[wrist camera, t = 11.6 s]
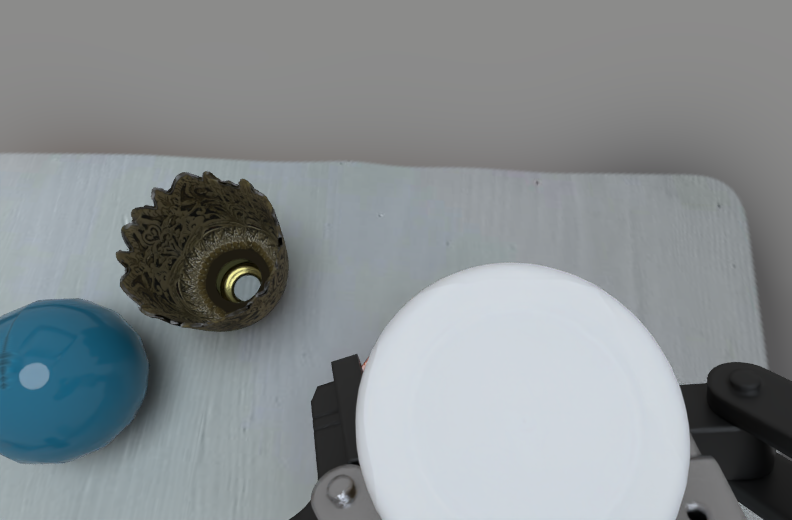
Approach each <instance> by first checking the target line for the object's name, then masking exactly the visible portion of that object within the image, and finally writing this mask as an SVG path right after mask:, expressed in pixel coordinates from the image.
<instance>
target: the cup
mask: <svg viewBox="0 0 792 520" xmlns="http://www.w3.org/2000/svg"><path fill="white" fill-rule="evenodd" d="M238 184H239V185H237V184H234V183H233V182H231V181H229V180H228V181H221V180H220V179H219V178H216V177H215V176H214V175H213V174H212V173H211V172H207V171H206V172H204V173H203V175H202V177H199V176H197V175H193V174H190V173H187V172H182V173H180V174H179V175H177V176H176V178H175V179H174V181H173V183H172V186H171V188H170V189H169V190H168V191H166V190H164V189H162V188H156V187H155V188H153V189H152V192H151V193H152V195H151V198H152V199H153V202H154V207H153V206H149V205H145V206H144V207H138V208H135V209H133V210H132V212H131V216H132V219H133V220H132V223H129V224H127V225H125V226H123V227H122V229H121V233H122V237H123V240H124V242H125V244H126V245H127V247H128V248H129V251H121V250H119V251H118V252H116V258H117V260H118V261H119V262H120V263H121V264H122V265H123V266H124V267H125V274H124V275H122V277H121V279H120V287H121V288H122V290H123V291H124V292H125V293H126V294H127V296H129V297H130V298H131V299H132V300H133V301H135V302H136V303H137V304H138V305H139V306H140V307H138V308H139V310H140V311H141V312H142V313H143V314H145V315H147V316H149V317H152V318H158V319H161V320H163V321H165V322H168V323H170V324H173V325H177V326H181V327H183V328H192V329H199V330H205V331H219V332H221V331H232V330H238V329H241V328H244V327H247V326H250V325H252V324H254V323H256V322H258V321H259V320H261V319H262V318H264V317H265V316H266V315H267V314H268V313H269V312H270V311H271V310H272V309H273V308H274V307H275V306H276V304H277V303H278V301H279V300H280V298H281V296H282V294H283V292H284V290H285V287H286V283H287V279H288V271H289V264H288V255H287V250H286V246H285V242H284V238H283V235H282V232H281V229H280V225H279V222H278V220H277V217H276V214H275V211H274V209H273V207H272V205H271V203H270V202H269V200H268V199H267V197H266V196H265V195H264V194H262V193H261V192H259V191H258V190H256V189H254V187H253V186H252V184H251V183H249V182H248V181H247V180H245V179H240V182H239V183H238ZM127 250H128V249H127ZM243 275H253V276H255V277H257V278H258V279H259V281H260V284H261V286H260V288H259V290H258V292H257V293H256V294H255V295H254V296H253V297H252V298H251V299H249V300H247V301H241V300H239V299H238V298H237V297H236V296H235V294H234V291H233V287H234V284H235V282H236V280H237V279H238V278H239V277H241V276H243Z"/></svg>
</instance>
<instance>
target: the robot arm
mask: <svg viewBox="0 0 792 520" xmlns="http://www.w3.org/2000/svg"><path fill="white" fill-rule="evenodd" d="M331 365H332V371H333V378H334V381H333V382H330V383H327V384H324V385H321V386H318V387H317V389H316V391H315V394H314V396H313V399H312V401H311V407H312V417H313V429H314V439H315V450H316V461H317V472H318V482H317V483H316V485H315V486H314V489H313V491H312V495H311V500H310V502H309V503H308V504H307V505H306V506H305V508H304V509H302V510H301V511H300V512H299V513H298V514H296V515H295V516H294V517H292V518H291V519H289V520H382V519H381V517H380V515H379V514H378V512H377V510H376V508H375V506H374V504H373V501H372V499H371V497H370V494H369V492H368V490H367V487H366V484H365V480H364V477H363V474H362V471H361V467H360V463H359V459H358V452H357V446H356V423H355V421H356V404H357V397H358V390H359V386H360V382H361V378H362V375H363V369H362V366H361V363H360V360H359V357H358V355H357V354H355V355H352V356H349V357H345V358H342V359H339V360H336V361H333V362H331ZM679 386H680V389H681V392H682V396H683V400H684V403H685V407H686V412H687V417H688V423H689V433H690V464H689V471H688V478H687V485H686V489H685V492H684V495H683V499H682V502H681V505H680V508H679V512H678V516H677V518H676V519H675V520H747V518H746V517H745V515H744V513H743V511H742V509H741V507H740V505H739V503H738V502H740V503H741V504H742V505H744V506H745V507H747V508H748V509H750V510H751V511H752V512H754V513H755V514H757V515H758V516H759V517H761V518H762V519H764V520H792V461H790V460H788V459H787V458H785V457H783V456H782V455H780V454H778V453H777V452H776V449H777V450H778V451H780V452H782V453H783V454H785V455H787V456H788V457H790V458H792V381H790V380H787V379H786V378H784V377H781V376H779V375H777V374H775V373H773V372H771V371H769V370H767V369H765V368H762V367H760V366H757V365H754V364H749V363H742V362H731V363H725V364H721V365H719V366H717V367H715V368H713V369H712V370H711V371H710V373H709V374H708V377H707V383H704V384H689V385H679Z"/></svg>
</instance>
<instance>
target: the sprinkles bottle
mask: <svg viewBox="0 0 792 520" xmlns="http://www.w3.org/2000/svg"><path fill="white" fill-rule="evenodd" d="M355 423H356V446H357V452H358V459H359V463H360V467H361V471H362V474H363V477H364V480H365V484H366V487H367V490H368V492H369V494H370V497H371V499H372V501H373V504H374V506H375V508H376V510H377V512H378V514H379V515H380V517H381V519H382V520H675V519H676V518H677V516H678V512H679V508H680V505H681V502H682V499H683V495H684V492H685V489H686V485H687V478H688V471H689V464H690V433H689V423H688V417H687V412H686V407H685V403H684V400H683V396H682V392H681V389H680V386H679V383H678V381H677V378H676V376H675V374H674V372H673V370H672V368H671V365H670V363H669V362H668V360H667V358H666V356H665V355H664V353H663V351H662V350H661V348H660V347H659V345H658V343H657V342H656V340H655V339H654V338H653V336H652V335H651V333H650V332H649V331H648V330H647V328H646V327H645V326H644V325H643V324H642V323H641V322H640V321H639V319H638V318H637V317H636V316H635V315H634V314H633V313H632V312H630V311H629V310H628V309H627V308H626V307H625V306H624V305H623V304H621V303H620V302H619V301H618V300H616V299H615V298H614V297H612V296H611V295H609V294H608V293H607V292H605V291H604V290H602V289H601V288H599V287H598V286H596V285H594V284H593V283H591V282H588V281H586V280H584V279H582V278H580V277H578V276H576V275H573V274H570V273H567V272H564V271H561V270H558V269H554V268H550V267H546V266H542V265H537V264H530V263H494V264H486V265H480V266H475V267H472V268H468V269H465V270H462V271H459V272H457V273H454V274H451V275H449V276H446V277H444V278H442V279H440V280H438V281H436V282H435V283H433V284H431V285H430V286H428V287H426V288H425V289H423V290H422V291H420V292H419V293H418V294H417V295H416V296H414V297H413V298H412V299H411V300H409V301H408V302H407V303H406V304H405V305H404V306H403V307H402V308H401V309H400V310H399V311H398V312H397V313H396V315H395V316H394V317H393V318H392V319H391V321H390V322H389V323H388V324H387V325H386V327H385V328H384V330H383V331H382V333H381V334H380V336H379V338H378V340H377V341H376V343H375V345H374V347H373V349H372V351H371V353H370V356H369V358H368V361H367V364H366V366H365V369H364V372H363V375H362V378H361V382H360V386H359V390H358V397H357V404H356V421H355Z"/></svg>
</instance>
